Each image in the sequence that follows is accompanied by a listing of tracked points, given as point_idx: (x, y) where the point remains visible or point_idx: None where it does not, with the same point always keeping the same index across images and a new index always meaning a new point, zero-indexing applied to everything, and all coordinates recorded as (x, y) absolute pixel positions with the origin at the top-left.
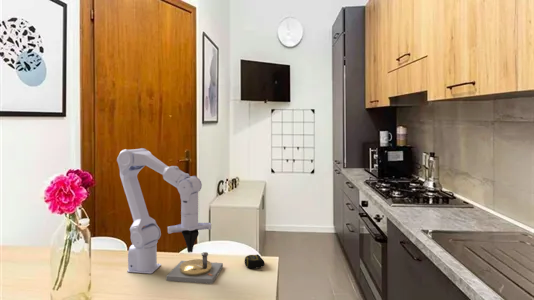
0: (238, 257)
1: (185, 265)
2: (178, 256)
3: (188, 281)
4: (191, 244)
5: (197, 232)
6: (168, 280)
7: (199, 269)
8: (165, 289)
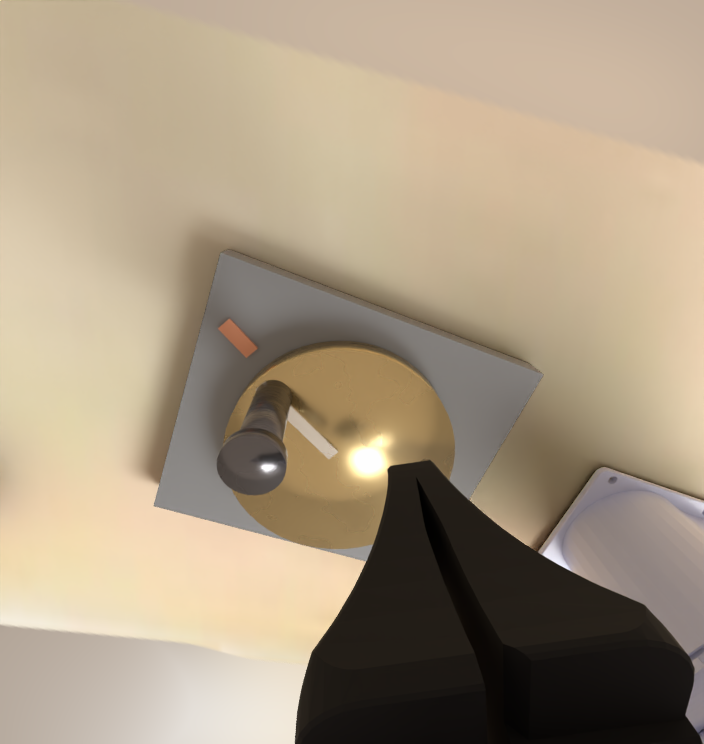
0: (71, 598)
1: None
2: None
3: (394, 313)
4: (419, 517)
5: (328, 733)
6: (517, 359)
7: (315, 383)
8: (553, 229)
